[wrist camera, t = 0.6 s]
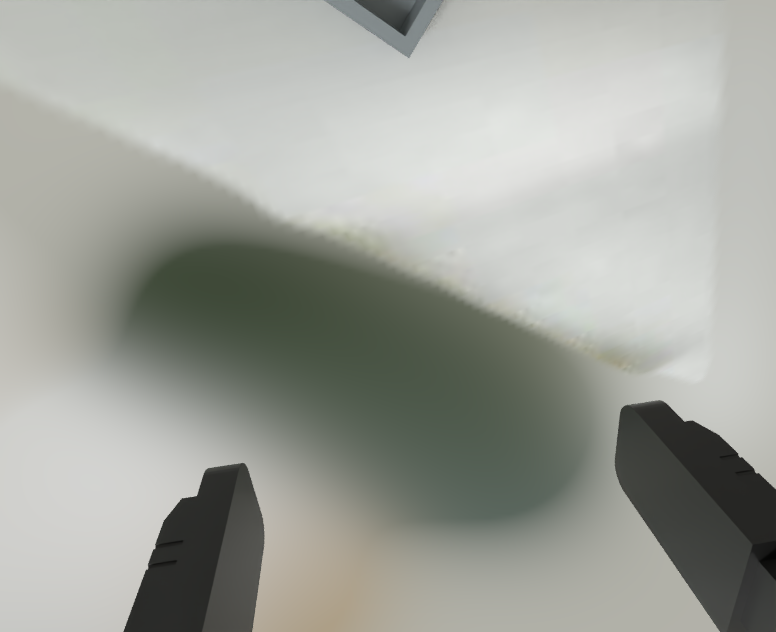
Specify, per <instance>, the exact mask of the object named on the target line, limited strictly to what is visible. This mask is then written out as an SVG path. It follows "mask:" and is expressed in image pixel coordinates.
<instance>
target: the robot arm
mask: <svg viewBox="0 0 776 632" xmlns="http://www.w3.org/2000/svg"><path fill="white" fill-rule="evenodd" d="M615 469H616V474H617V477H618V480H619V483H620V485H621V487H622V489H623V491H624V492H625V494H626V495H627V496H628V498H629V499H630V501H631V502H632V504H633V505H634V507H635V508H636V510H637V511H638V512H639V514H640V515H641V517H642V518H643V520H644V521H645V523H646V524H647V526H648V527H649V528H650V530H651V531H652V533H653V534H654V536H655V537H656V539H657V540H658V542H659V543H660V545H661V546H662V548H663V549H664V550H665V552H666V553H667V555H668V556H669V558H670V559H671V561H672V562H673V564H674V565H675V566H676V568H677V569H678V571H679V572H680V574H681V575H682V577H683V578H684V580H685V581H686V583H687V584H688V585H689V587H690V588H691V590H692V591H693V593H694V594H695V596H696V597H697V599H698V600H699V601H700V603H701V604H702V606H703V607H704V609H705V610H706V612H707V613H708V615H709V616H710V618H711V619H712V620H713V622H714V623H715V625H716V626H717V628H718V629H719V631H720V632H776V489H775V488H774V487H772V486H771V485H770V484H769V483H768V482H767V481H766V480H765V479H764V478H763V477H762V476H761V475H760V474H759V473H758V474H756V473H755V471H754V468H753V467H752V466H750V464H748V463H747V462H746V461H745V460H744V459H743V458H742V457H741V458H740V457H739V456H738V453H737V452H736V451H735V450H734V449H733V448H732V447H731V446H730V445H729V444H728V443H727V442H726V441H724V440H723V439H722V438H721V437H720V436H719V435H718V434H716V433H714V432H712V431H711V430H709V429H707V428H705V427H703V426H701V425H700V424H698V423H696V422H694V421H686V422H684V421H683V420H682V419H681V418H680V417H679V416H678V415H677V414H676V413H675V412H674V411H673V410H672V409H671V408H670V407H669V406H668V405H667V404H666V403H665V402H663V401H660V400H659V401H651V402H645V403H638V404H632V405H626V406H624V407H623V408H622V409H621V412H620V420H619V429H618V437H617V446H616V455H615ZM155 545H156V548H155V549H154V550H153V552H152V555H151V558H150V561H149V563H148V570H146V571H145V574H144V577H143V580H142V582H141V586H140V588H139V591H138V593H137V596H136V599H135V602H134V605H133V607H132V610H131V613H130V615H129V618H128V621H127V624H126V626H125V629H124V632H252V628H253V620H254V614H255V607H256V600H257V592H258V585H259V578H260V571H261V563H262V556H263V549H264V524H263V518H262V514H261V511H260V507H259V504H258V501H257V497H256V494H255V491H254V488H253V485H252V481H251V478H250V474H249V471H248V468H247V466H246V465H245V464H244V463H241V464H234V465H227V466H220V467H214V468H208V469H207V470H206V471H205V473H204V475H203V478H202V482H201V485H200V488H199V492H198V495H197V496H195V497H189V498H182V499H181V500H180V502H179V503H178V504H177V505H176V507H175V508H174V509H173V510H172V512H171V513H170V514H169V515H168V517H167V518H166V519H165V520H164V522H163V525H162V528H161V530H160V533H159V536H158V539H157V542H156V544H155Z"/></svg>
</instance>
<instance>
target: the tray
mask: <svg viewBox="0 0 776 632" xmlns="http://www.w3.org/2000/svg"><path fill="white" fill-rule="evenodd" d="M324 1H326V2H327V3H329V4H330V5H332V6H333V7H334V8H336V9H337V10H339V11H340V12H342V13H343V14H345V15H346V16H348V17H349V18H351V19H352V20H354V21H355V22H357V23H358V24H359V25H361V26H362V27H364V28H365V29H367V30H368V31H370V32H371V33H373V34H374V35H376V36H377V37H379V38H380V39H382V40H383V41H384V42H386V43H387V44H389V45H390V46H392V47H393V48H395V49H396V50H398V51H399V52H401V53H402V54H404V55H405V56H407V57H408V58H409V57H410V55H411V54H412V52H413V50H414V49H415V47H416V45H417V44H418V42H419V40H420V38H421V37H422V35H423V33H424V32H425V30H426V28H427V27H428V25H429V23H430V21H431V20H432V18H433V16H434V15H435V13H436V11H437V10H438V8H439V6H440V4H441V3H442V1H443V0H324Z"/></svg>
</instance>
